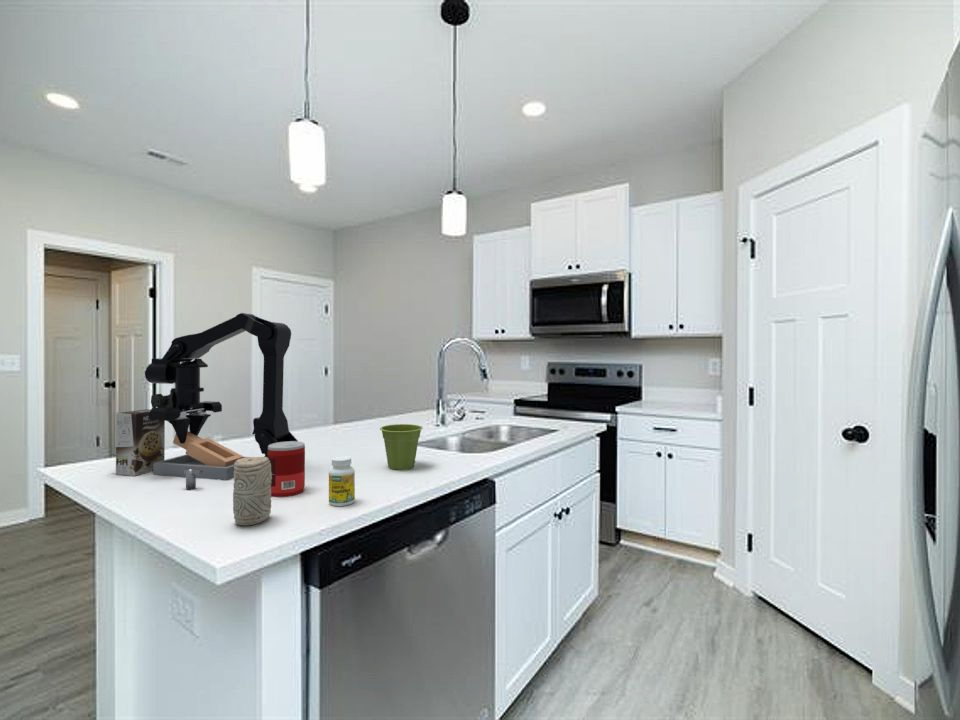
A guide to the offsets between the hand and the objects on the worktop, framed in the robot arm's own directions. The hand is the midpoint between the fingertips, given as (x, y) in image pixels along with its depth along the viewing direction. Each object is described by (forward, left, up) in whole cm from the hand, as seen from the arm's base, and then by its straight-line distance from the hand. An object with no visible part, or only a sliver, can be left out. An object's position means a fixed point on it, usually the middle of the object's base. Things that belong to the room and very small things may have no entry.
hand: (187, 442), depth 127 cm
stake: (-14, +14, -8) cm, 21 cm away
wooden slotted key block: (-5, 0, -3) cm, 6 cm away
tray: (-6, 0, -8) cm, 10 cm away
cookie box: (+11, +4, -8) cm, 14 cm away
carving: (-42, +29, -8) cm, 52 cm away
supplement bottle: (-53, +15, -8) cm, 56 cm away
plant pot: (-54, -17, -8) cm, 57 cm away
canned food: (-37, +11, -8) cm, 40 cm away
